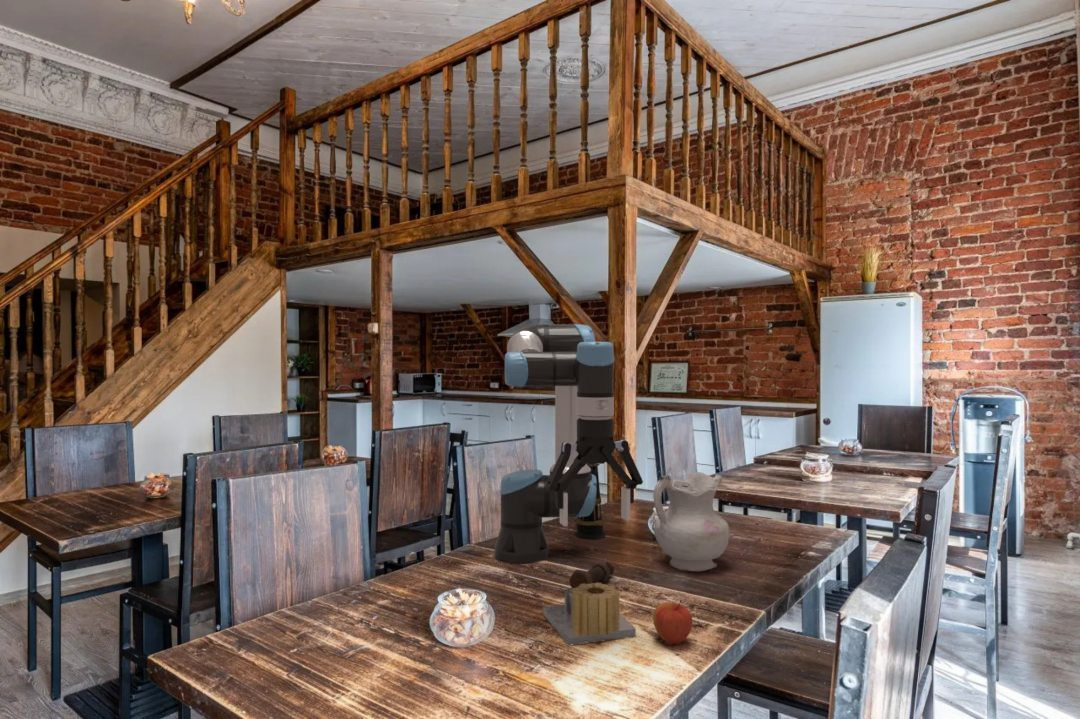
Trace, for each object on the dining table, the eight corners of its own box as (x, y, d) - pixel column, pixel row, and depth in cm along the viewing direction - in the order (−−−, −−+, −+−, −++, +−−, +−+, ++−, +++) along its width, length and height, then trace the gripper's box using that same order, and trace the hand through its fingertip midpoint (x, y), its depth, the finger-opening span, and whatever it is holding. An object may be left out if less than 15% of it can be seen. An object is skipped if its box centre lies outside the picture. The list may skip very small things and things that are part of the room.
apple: (650, 633, 124) (650, 592, 124) (688, 633, 124) (687, 593, 124) (656, 650, 117) (656, 607, 117) (696, 650, 117) (695, 607, 117)
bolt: (611, 583, 158) (581, 600, 146) (596, 570, 161) (565, 585, 148) (622, 565, 157) (592, 580, 144) (607, 552, 159) (576, 566, 147)
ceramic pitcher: (692, 588, 153) (699, 487, 152) (631, 562, 167) (637, 470, 166) (740, 569, 167) (747, 477, 166) (680, 547, 182) (686, 462, 180)
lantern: (573, 532, 200) (573, 438, 200) (601, 531, 201) (601, 437, 201) (578, 540, 191) (578, 441, 191) (607, 539, 192) (607, 441, 192)
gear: (582, 638, 118) (582, 601, 118) (566, 619, 127) (566, 585, 127) (627, 632, 121) (627, 596, 121) (607, 614, 130) (607, 580, 130)
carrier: (542, 614, 134) (542, 581, 134) (603, 606, 138) (603, 574, 138) (568, 646, 119) (568, 608, 119) (635, 636, 123) (635, 600, 123)
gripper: (542, 421, 120) (542, 531, 120) (659, 417, 127) (659, 521, 127) (531, 417, 127) (531, 522, 127) (642, 414, 134) (642, 512, 135)
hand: (595, 522), depth 127 cm, fingers open, 13 cm apart
